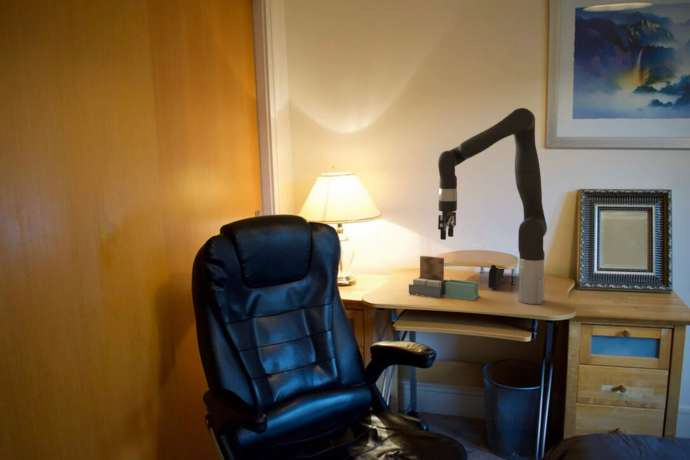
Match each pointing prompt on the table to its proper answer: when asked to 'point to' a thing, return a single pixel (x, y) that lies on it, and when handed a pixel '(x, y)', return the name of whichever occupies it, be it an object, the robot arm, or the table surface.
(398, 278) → the table surface
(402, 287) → the table surface
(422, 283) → the offcut
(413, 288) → the offcut rack
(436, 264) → the walnut panel
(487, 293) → the table surface
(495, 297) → the table surface
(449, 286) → the green rectangular block
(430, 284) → the offcut
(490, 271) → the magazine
